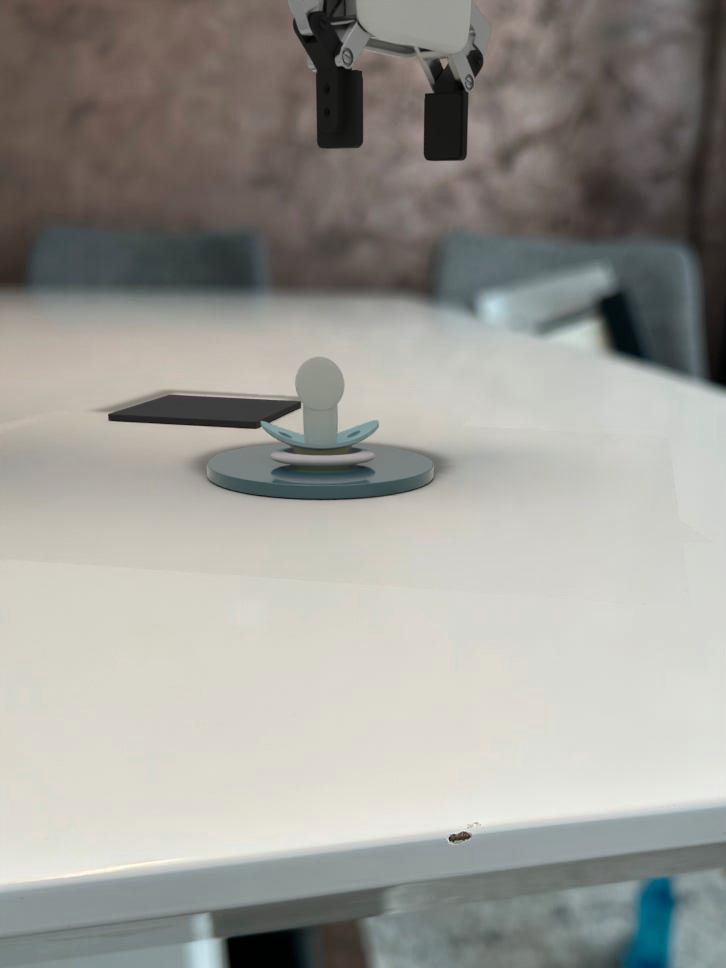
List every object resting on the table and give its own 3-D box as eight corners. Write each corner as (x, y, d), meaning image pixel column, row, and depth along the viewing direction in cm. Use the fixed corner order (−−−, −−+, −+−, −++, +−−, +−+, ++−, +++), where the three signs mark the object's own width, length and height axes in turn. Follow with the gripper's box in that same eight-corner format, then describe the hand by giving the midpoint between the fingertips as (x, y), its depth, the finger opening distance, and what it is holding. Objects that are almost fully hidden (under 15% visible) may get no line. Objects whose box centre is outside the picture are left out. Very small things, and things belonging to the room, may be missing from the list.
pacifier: (386, 472, 67) (374, 451, 72) (386, 367, 65) (375, 353, 70) (263, 474, 66) (261, 452, 71) (259, 366, 63) (257, 352, 69)
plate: (170, 490, 64) (169, 477, 63) (251, 449, 77) (250, 437, 76) (409, 505, 62) (409, 491, 62) (450, 460, 75) (450, 448, 75)
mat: (108, 420, 86) (107, 413, 86) (169, 400, 97) (169, 394, 97) (256, 428, 85) (256, 421, 85) (301, 406, 96) (301, 401, 96)
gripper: (442, -123, 71) (437, 165, 77) (234, -211, 58) (247, 144, 64) (538, -143, 67) (525, 164, 73) (336, -243, 54) (340, 141, 60)
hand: (395, 154), depth 68 cm, fingers open, 9 cm apart
